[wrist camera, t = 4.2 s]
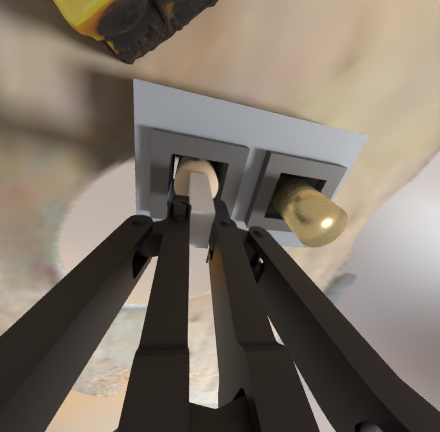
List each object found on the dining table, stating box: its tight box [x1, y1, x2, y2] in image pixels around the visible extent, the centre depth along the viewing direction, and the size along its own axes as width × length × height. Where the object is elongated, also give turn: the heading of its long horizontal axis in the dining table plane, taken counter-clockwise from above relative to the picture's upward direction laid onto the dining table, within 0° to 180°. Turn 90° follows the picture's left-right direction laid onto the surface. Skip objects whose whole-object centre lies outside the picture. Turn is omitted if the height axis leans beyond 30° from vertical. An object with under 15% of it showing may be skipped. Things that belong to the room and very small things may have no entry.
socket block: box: [133, 78, 369, 248], centre depth 21 cm, size 21×14×7 cm, turn 78°
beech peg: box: [174, 155, 218, 198], centre depth 20 cm, size 4×4×7 cm
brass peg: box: [270, 174, 347, 247], centre depth 18 cm, size 4×4×7 cm
